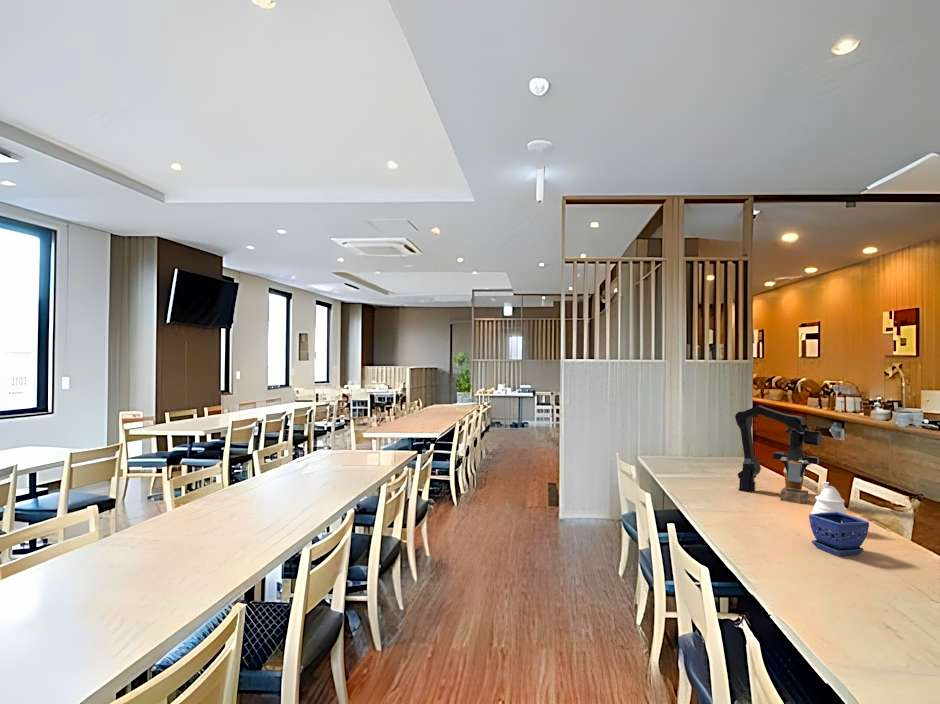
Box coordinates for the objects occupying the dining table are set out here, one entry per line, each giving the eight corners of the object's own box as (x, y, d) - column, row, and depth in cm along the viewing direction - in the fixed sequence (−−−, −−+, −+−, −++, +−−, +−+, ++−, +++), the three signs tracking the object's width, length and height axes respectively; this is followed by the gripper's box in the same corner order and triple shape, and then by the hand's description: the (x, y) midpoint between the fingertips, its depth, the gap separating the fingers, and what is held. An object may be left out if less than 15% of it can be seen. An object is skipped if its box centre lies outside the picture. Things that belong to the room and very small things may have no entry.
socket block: (780, 500, 280) (780, 490, 280) (784, 496, 288) (784, 487, 288) (804, 504, 274) (804, 494, 274) (808, 500, 282) (808, 490, 282)
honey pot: (811, 529, 234) (812, 483, 234) (810, 521, 245) (811, 477, 245) (850, 535, 228) (851, 488, 228) (846, 526, 239) (848, 481, 239)
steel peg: (787, 480, 280) (788, 461, 280) (789, 478, 284) (790, 460, 284) (799, 482, 277) (800, 462, 277) (801, 480, 281) (802, 461, 281)
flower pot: (838, 559, 200) (839, 523, 200) (806, 546, 213) (807, 512, 213) (869, 556, 204) (870, 521, 204) (836, 543, 217) (837, 511, 217)
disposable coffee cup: (804, 493, 297) (805, 468, 297) (803, 496, 289) (804, 472, 289) (783, 490, 302) (784, 466, 302) (781, 493, 294) (782, 469, 294)
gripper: (770, 442, 280) (769, 475, 280) (816, 447, 269) (814, 482, 269) (775, 440, 289) (774, 472, 289) (819, 444, 277) (818, 478, 278)
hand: (794, 476), depth 281 cm, fingers closed on steel peg, 5 cm apart
